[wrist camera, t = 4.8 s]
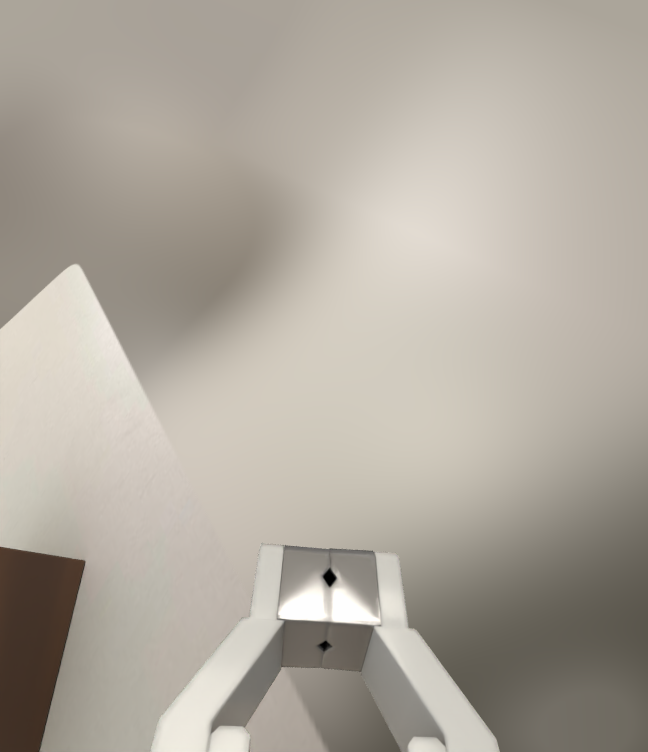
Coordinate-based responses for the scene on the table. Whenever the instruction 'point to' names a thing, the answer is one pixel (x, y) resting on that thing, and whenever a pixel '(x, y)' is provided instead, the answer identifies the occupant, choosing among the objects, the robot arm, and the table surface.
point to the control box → (32, 640)
